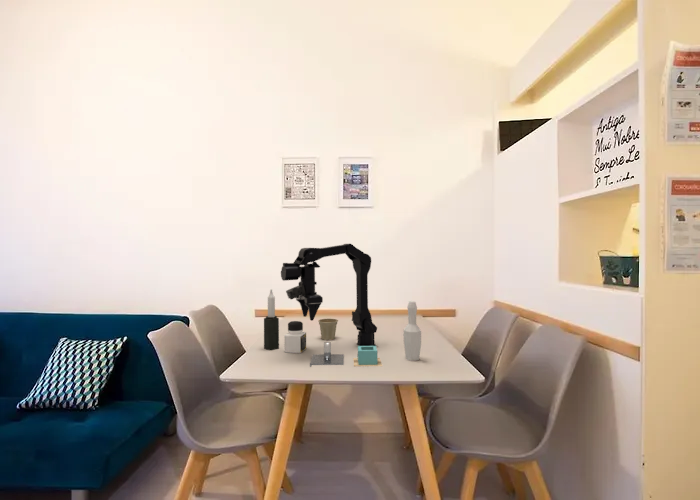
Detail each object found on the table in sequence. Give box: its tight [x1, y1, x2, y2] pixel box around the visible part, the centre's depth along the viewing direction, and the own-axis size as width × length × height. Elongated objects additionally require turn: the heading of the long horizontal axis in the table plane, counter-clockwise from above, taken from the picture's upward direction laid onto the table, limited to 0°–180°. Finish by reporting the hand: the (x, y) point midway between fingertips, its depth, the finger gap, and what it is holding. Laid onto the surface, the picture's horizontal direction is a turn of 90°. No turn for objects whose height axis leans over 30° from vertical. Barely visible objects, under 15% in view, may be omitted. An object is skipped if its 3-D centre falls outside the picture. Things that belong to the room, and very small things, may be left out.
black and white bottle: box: [263, 288, 280, 351], centre depth 161 cm, size 5×5×25 cm
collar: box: [357, 345, 379, 365], centre depth 139 cm, size 7×7×5 cm
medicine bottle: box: [283, 320, 307, 354], centre depth 157 cm, size 7×7×12 cm
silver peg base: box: [309, 341, 345, 367], centre depth 142 cm, size 12×12×7 cm
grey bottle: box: [403, 300, 422, 362], centre depth 143 cm, size 6×6×22 cm
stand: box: [352, 357, 383, 367], centre depth 139 cm, size 10×10×5 cm
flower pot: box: [317, 318, 339, 341], centre depth 178 cm, size 9×9×9 cm
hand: (308, 318), depth 152 cm, fingers open, 9 cm apart
